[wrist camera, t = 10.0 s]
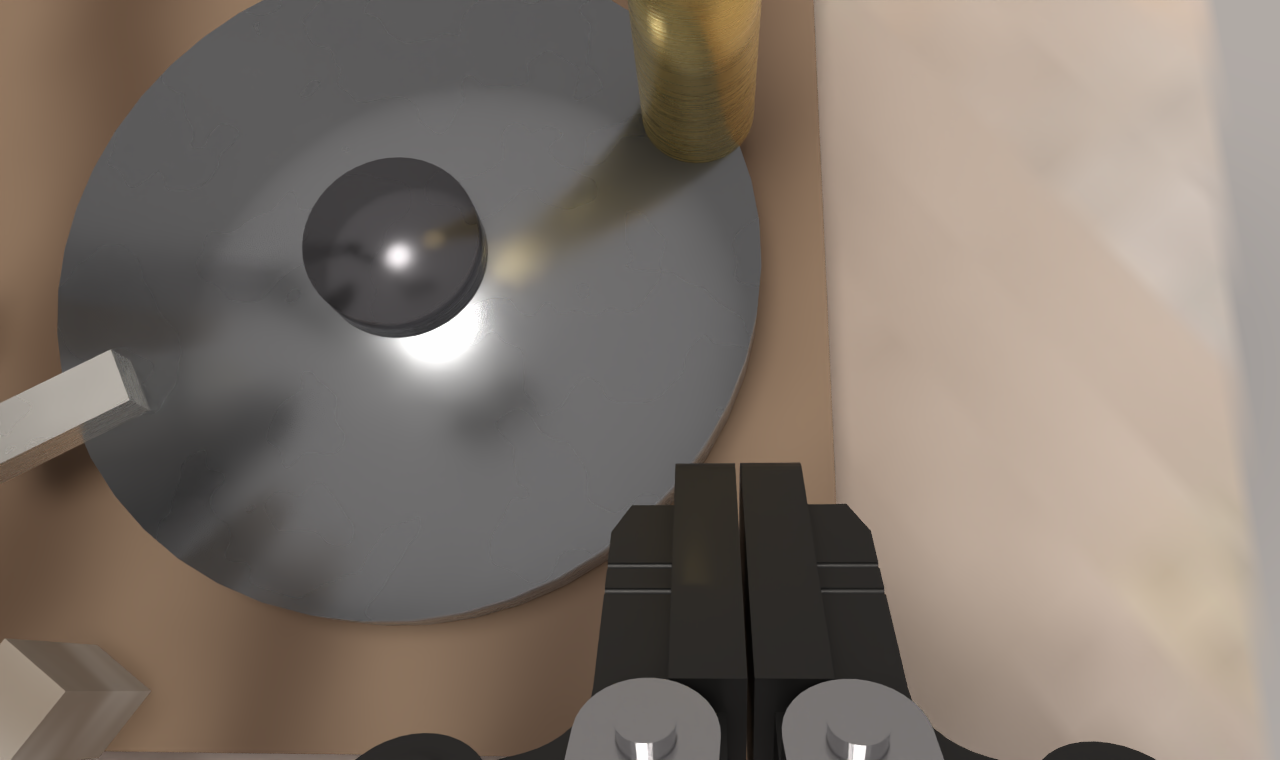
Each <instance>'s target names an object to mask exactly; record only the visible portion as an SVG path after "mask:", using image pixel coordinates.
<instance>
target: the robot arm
mask: <svg viewBox="0 0 1280 760" xmlns="http://www.w3.org/2000/svg"><path fill="white" fill-rule="evenodd" d="M746 746H747V760H997V759H994V758H990V757H987V756H984V755H981V754H977V753H974V752H972V751H970V750H968V749H965V748H963V747H961V746H959V745H957V744H955V743H954V742H952V741H950V740H949V739H947V738H946V737H944V736H943V735H942V734H940V733H939V732H938V731H936V730H935V729H934V728H933V727H932V725H931V723H930V721H929V720H928V718H927V717H926V715H925V714H924V713H923V711H922V710H921V709H920V708H919V707H918V706H917V705H916V704H915V703H914V702H913V701H912V699H911V696H910V693H909V690H908V687H907V682H906V678H905V674H904V670H903V665H902V661H901V657H900V653H899V648H898V644H897V640H896V636H895V632H894V627H893V623H892V619H891V615H890V610H889V606H888V602H887V598H886V594H884V585H883V581H882V577H881V572H880V568H878V560H877V555H876V551H875V547H874V543H873V538H872V534H871V531H870V530H869V529H868V527H867V526H866V525H865V524H864V523H863V522H862V521H861V520H860V519H859V517H858V516H857V515H856V514H855V513H854V512H853V511H852V510H851V509H850V507H849V506H848V505H847V504H807V497H806V491H805V485H804V478H803V472H802V466H801V463H800V462H792V463H740V475H739V522H738V504H737V486H736V469H735V463H677V464H675V488H674V505H632V506H631V507H630V508H629V510H628V511H627V512H626V514H625V515H624V516H623V517H622V519H621V520H620V521H619V523H618V524H617V525H616V527H615V528H614V529H613V530H612V532H611V539H610V547H609V556H608V569H607V573H606V581H605V594H604V598H603V607H602V615H601V624H600V632H599V641H598V649H597V658H596V666H595V675H594V683H593V690H592V694H591V698H590V699H589V700H588V701H587V702H586V703H585V704H584V705H583V707H582V708H581V709H580V711H579V712H578V714H577V716H576V717H575V720H574V723H573V726H572V727H571V728H570V729H568V730H567V731H566V732H565V733H564V734H562V735H561V736H559V737H558V738H556V739H555V740H553V741H551V742H550V743H548V744H545V745H543V746H541V747H539V748H537V749H534V750H531V751H528V752H525V753H521V754H517V755H514V756H510V757H506V758H502V759H499V760H746ZM356 760H482V759H481V758H480V756H479V755H478V753H477V752H476V751H474V750H473V749H472V748H471V747H470V746H469V745H467V744H466V743H464V742H462V741H461V740H458V739H456V738H453V737H451V736H447V735H442V734H436V733H417V734H409V735H405V736H400V737H397V738H394V739H391V740H388V741H385V742H383V743H381V744H379V745H377V746H375V747H373V748H372V749H370V750H369V751H367V752H365V753H364V754H362V755H361V756H360V757H358V758H357V759H356ZM1043 760H1155V759H1154V758H1152V757H1150V756H1148V755H1145V754H1143V753H1141V752H1139V751H1136V750H1133V749H1130V748H1127V747H1125V746H1120V745H1116V744H1111V743H1104V742H1079V743H1073V744H1068V745H1066V746H1063V747H1060V748H1058V749H1056V750H1054V751H1053V752H1051V753H1049V754H1048V755H1047V756H1046V757H1045V758H1044V759H1043Z"/></svg>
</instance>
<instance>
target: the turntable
mask: <svg viewBox="0 0 1280 760" xmlns="http://www.w3.org/2000/svg"><path fill="white" fill-rule="evenodd" d="M261 1H262V0H0V403H1V402H3V401H5V400H7V399H10V398H12V397H14V396H16V395H18V394H20V393H22V392H24V391H26V390H28V389H30V388H32V387H34V386H36V385H38V384H40V383H42V382H45V381H47V380H49V379H51V378H53V377H55V376H57V375H59V374H61V373H62V369H61V361H60V353H59V344H58V336H57V323H58V289H59V283H60V276H61V270H62V263H63V257H64V250H65V246H66V243H67V239H68V236H69V232H70V229H71V226H72V222H73V219H74V215H75V212H76V208H77V206H78V204H79V201H80V199H81V197H82V194H83V192H84V190H85V187H86V185H87V183H88V180H89V178H90V176H91V173H92V171H93V169H94V167H95V165H96V163H97V162H98V160H99V158H100V157H101V155H102V153H103V151H104V150H105V148H106V146H107V145H108V143H109V141H110V139H111V138H112V136H113V134H114V133H115V131H116V130H117V128H118V127H119V126H120V124H121V123H122V122H123V120H124V119H125V118H126V116H127V115H128V114H129V112H130V111H131V110H132V108H133V107H134V105H135V104H136V103H137V101H138V100H139V99H140V97H141V96H142V95H143V94H144V93H145V92H146V91H147V90H148V89H149V88H150V87H151V86H152V85H153V83H154V82H155V81H156V80H157V79H158V78H159V77H160V76H161V75H162V74H163V73H164V72H165V71H166V70H167V69H168V68H169V66H170V65H171V64H173V63H174V62H175V61H176V60H177V59H179V58H180V57H181V56H182V55H183V54H184V53H186V52H187V51H188V50H189V49H190V48H191V47H193V46H194V45H195V44H196V43H197V42H198V41H200V40H201V39H202V38H203V37H205V36H206V35H207V34H209V33H210V32H212V31H213V30H215V29H216V28H218V27H219V26H221V25H222V24H224V23H225V22H227V21H228V20H230V19H231V18H232V17H234V16H235V15H237V14H238V13H240V12H242V11H244V10H246V9H247V8H249V7H251V6H253V5H255V4H257V3H259V2H261ZM612 1H613V2H615V3H617V4H618V5H620V6H621V7H623V8H625V9H626V10H628V11H629V9H628V1H627V0H612ZM740 149H741V152H742V154H743V157H744V160H745V163H746V166H747V169H748V172H749V175H750V178H751V181H752V186H753V191H754V197H755V202H756V207H757V212H758V217H759V225H760V246H761V275H760V286H759V297H758V307H757V317H756V326H755V334H754V339H753V343H752V347H751V351H750V355H749V360H748V364H747V368H746V372H745V376H744V379H743V382H742V384H741V387H740V389H739V392H738V395H737V397H736V400H735V402H734V405H733V408H732V410H731V413H730V415H729V418H728V420H727V422H726V423H725V425H724V427H723V429H722V431H721V432H720V434H719V436H718V438H717V440H716V442H715V443H714V445H713V447H712V449H711V451H710V452H709V454H708V456H707V458H706V459H705V461H704V462H703V463H735V469H736V486H737V504H738V522H739V475H740V463H792V462H800V463H801V466H802V472H803V478H804V485H805V491H806V497H807V504H836V490H835V468H834V445H833V423H832V401H831V379H830V357H829V335H828V313H827V291H826V269H825V247H824V225H823V203H822V181H821V159H820V137H819V114H818V92H817V70H816V48H815V26H814V4H813V0H762V1H761V16H760V31H759V45H758V60H757V74H756V89H755V104H754V117H753V123H752V127H751V129H750V132H749V134H748V135H747V137H746V139H745V140H744V141H743V143H742V144H741V145H740ZM670 505H674V501H673V502H672V503H671V504H670ZM607 569H608V560H607V561H605V562H604V563H602V564H600V565H599V566H597V567H595V568H594V569H592V570H590V571H589V572H587V573H585V574H584V575H582V576H580V577H579V578H577V579H575V580H574V581H572V582H570V583H569V584H567V585H565V586H563V587H560V588H558V589H556V590H554V591H551V592H549V593H547V594H545V595H542V596H540V597H538V598H535V599H533V600H531V601H529V602H526V603H524V604H521V605H518V606H514V607H511V608H508V609H504V610H501V611H497V612H494V613H490V614H487V615H484V616H480V617H477V618H470V619H464V620H457V621H451V622H444V623H438V624H431V625H386V626H381V625H373V624H365V623H357V622H348V621H340V620H333V619H328V618H322V617H317V616H311V615H307V614H303V613H299V612H296V611H292V610H288V609H285V608H281V607H277V606H273V605H270V604H266V603H262V602H260V601H257V600H255V599H253V598H250V597H248V596H246V595H243V594H241V593H239V592H237V591H234V590H232V589H230V588H227V587H225V586H223V585H220V584H218V583H216V582H215V581H213V580H212V579H210V578H208V577H207V576H205V575H203V574H202V573H200V572H199V571H197V570H195V569H194V568H192V567H191V566H189V565H187V564H186V563H184V562H183V561H181V560H179V559H178V558H177V557H176V556H174V555H173V554H172V553H171V552H170V551H169V550H167V549H166V548H165V547H164V546H163V545H161V544H160V543H159V542H158V541H157V540H156V539H154V538H153V537H152V536H151V535H150V534H149V533H147V532H146V531H145V530H144V529H143V528H142V527H141V526H140V524H139V523H138V522H137V521H136V520H135V519H134V518H133V516H132V515H131V514H130V513H129V512H128V511H127V509H126V508H125V507H124V506H123V505H122V504H121V503H120V501H119V500H118V499H117V498H116V497H115V496H114V494H113V492H112V491H111V489H110V488H109V486H108V484H107V483H106V481H105V480H104V478H103V477H102V475H101V473H100V472H99V470H98V469H97V467H96V465H95V464H94V462H93V461H92V459H91V457H90V455H89V453H88V450H87V448H86V446H85V443H83V444H81V445H79V446H77V447H75V448H73V449H71V450H69V451H67V452H65V453H63V454H61V455H59V456H57V457H55V458H53V459H51V460H48V461H46V462H44V463H42V464H40V465H38V466H36V467H34V468H32V469H30V470H28V471H26V472H24V473H22V474H20V475H18V476H16V477H14V478H12V479H10V480H8V481H6V482H4V483H2V484H0V760H82V759H91V758H99V757H100V756H101V754H102V753H103V752H104V751H122V752H203V753H285V754H364V753H365V752H367V751H369V750H370V749H372V748H373V747H375V746H377V745H379V744H381V743H383V742H385V741H388V740H391V739H394V738H397V737H400V736H405V735H409V734H417V733H436V734H442V735H447V736H451V737H453V738H456V739H458V740H461V741H462V742H464V743H466V744H467V745H469V746H470V747H471V748H472V749H473V750H474V751H476V752H477V753H478V755H479V756H514V755H517V754H521V753H525V752H528V751H531V750H534V749H537V748H539V747H541V746H543V745H545V744H548V743H550V742H551V741H553V740H555V739H556V738H558V737H559V736H561V735H562V734H564V733H565V732H566V731H567V730H568V729H570V728H571V727H572V726H573V723H574V720H575V717H576V716H577V714H578V712H579V711H580V709H581V708H582V707H583V705H584V704H585V703H586V702H587V701H588V700H589V699H590V698H591V694H592V690H593V683H594V675H595V666H596V658H597V649H598V641H599V632H600V624H601V615H602V607H603V598H604V594H605V581H606V573H607ZM746 759H747V746H746Z"/></svg>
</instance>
